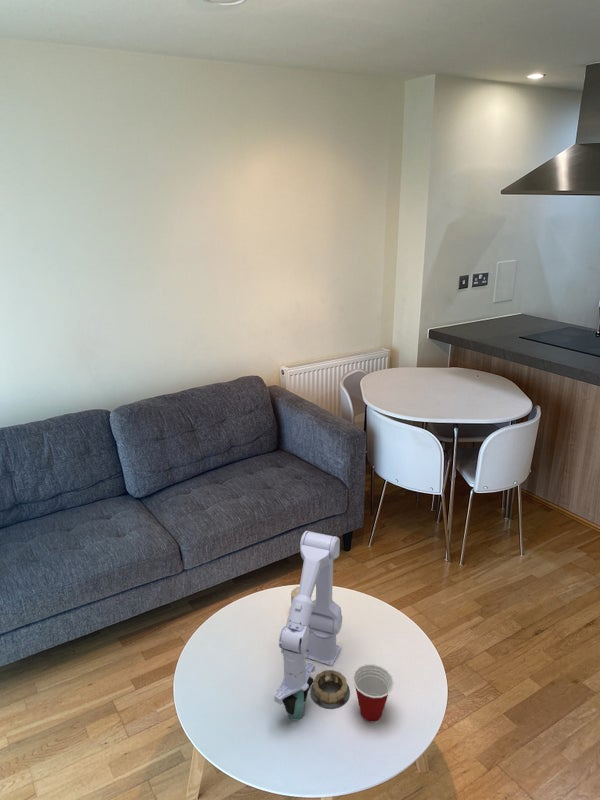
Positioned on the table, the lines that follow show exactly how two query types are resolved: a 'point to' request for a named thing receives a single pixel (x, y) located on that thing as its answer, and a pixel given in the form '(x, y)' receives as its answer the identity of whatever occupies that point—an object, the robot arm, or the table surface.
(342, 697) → the ring holder
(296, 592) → the candle
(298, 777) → the table surface
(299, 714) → the peg
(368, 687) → the plastic cup
